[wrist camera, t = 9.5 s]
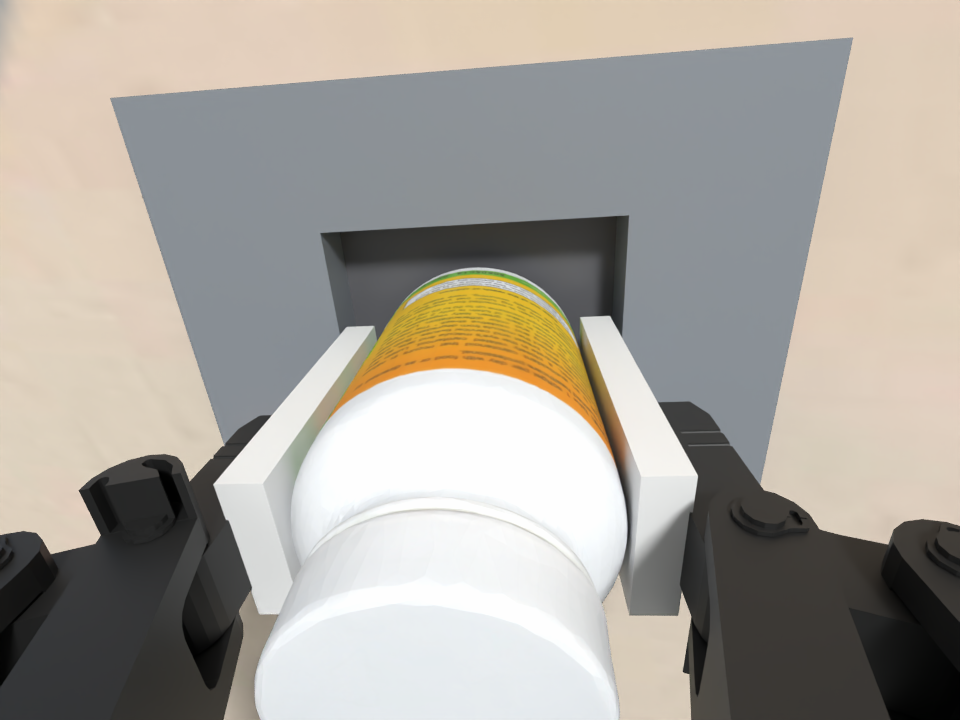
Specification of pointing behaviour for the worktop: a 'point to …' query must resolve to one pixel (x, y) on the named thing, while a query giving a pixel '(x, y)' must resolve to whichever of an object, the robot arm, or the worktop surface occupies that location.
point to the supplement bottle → (455, 524)
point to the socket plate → (501, 211)
